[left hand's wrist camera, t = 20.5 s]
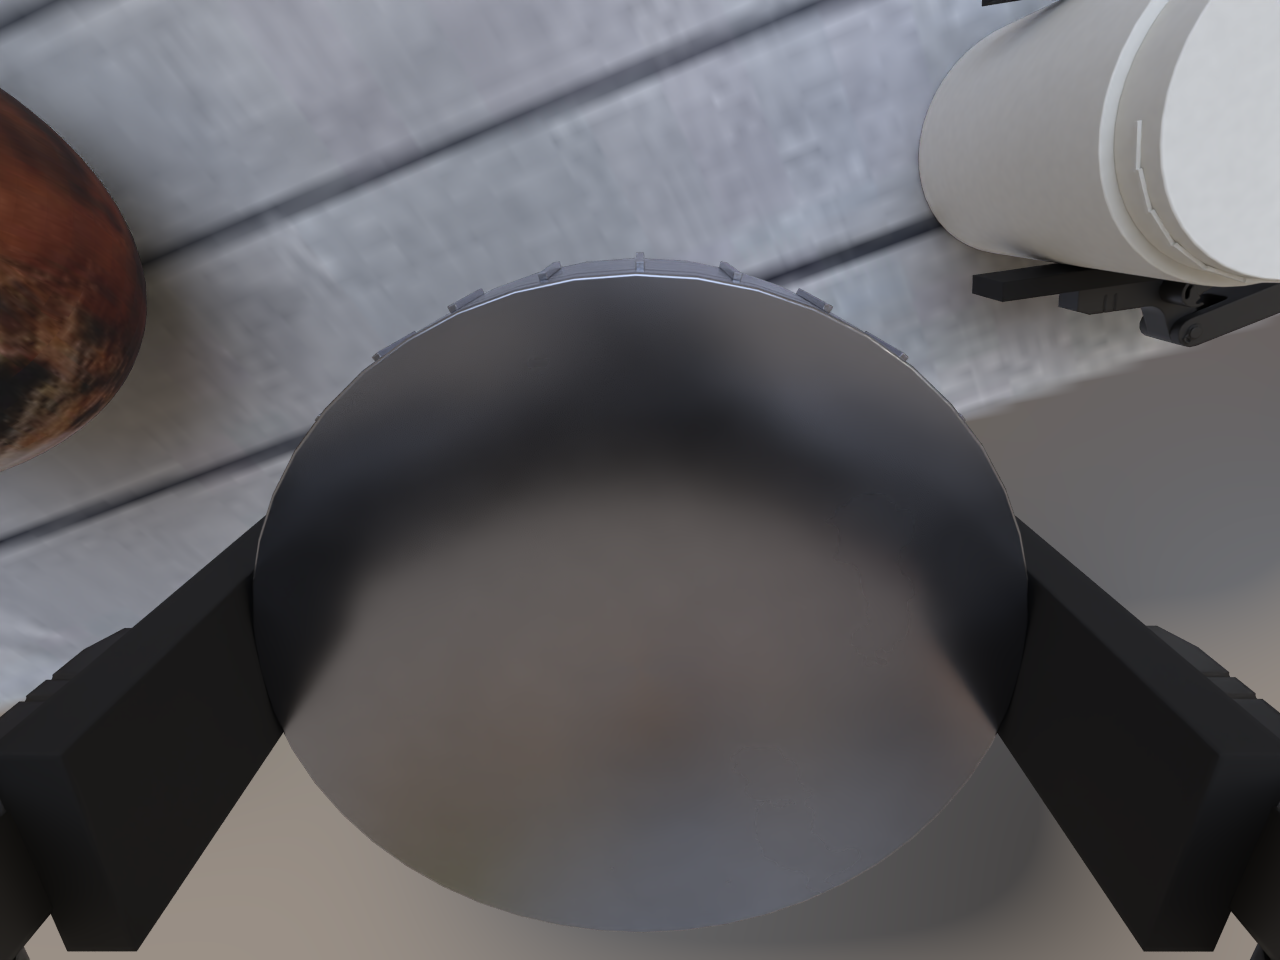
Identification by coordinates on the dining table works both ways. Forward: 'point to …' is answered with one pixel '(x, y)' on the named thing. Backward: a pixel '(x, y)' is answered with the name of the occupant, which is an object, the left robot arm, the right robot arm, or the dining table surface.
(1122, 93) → the jar
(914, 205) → the dining table surface
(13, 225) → the cat face ball
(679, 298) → the lid
